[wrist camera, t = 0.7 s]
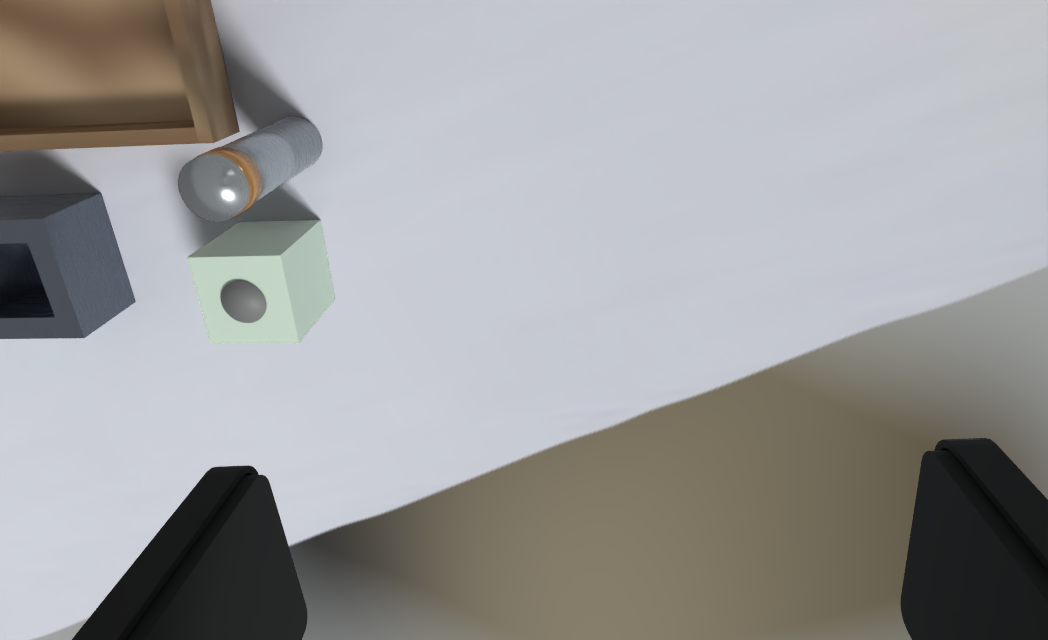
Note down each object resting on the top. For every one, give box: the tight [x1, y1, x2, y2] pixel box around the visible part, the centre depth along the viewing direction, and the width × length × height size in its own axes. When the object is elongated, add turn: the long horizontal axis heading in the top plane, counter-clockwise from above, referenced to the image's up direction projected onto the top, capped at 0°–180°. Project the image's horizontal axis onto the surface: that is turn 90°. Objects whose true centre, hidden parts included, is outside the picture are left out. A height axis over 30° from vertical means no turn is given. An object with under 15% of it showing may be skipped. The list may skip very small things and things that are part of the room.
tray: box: [0, 0, 240, 151], centre depth 36 cm, size 13×17×3 cm
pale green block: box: [187, 220, 335, 344], centre depth 40 cm, size 5×5×6 cm
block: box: [0, 193, 135, 339], centre depth 41 cm, size 7×7×5 cm
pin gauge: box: [178, 116, 322, 222], centre depth 35 cm, size 3×3×10 cm
